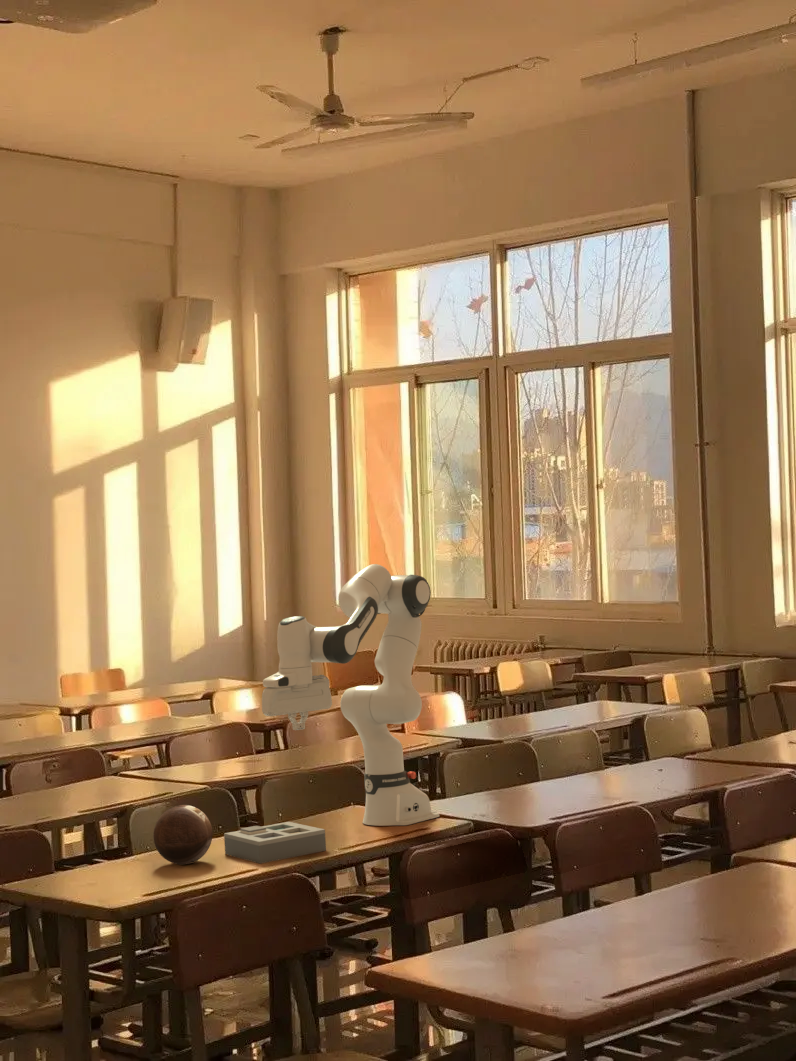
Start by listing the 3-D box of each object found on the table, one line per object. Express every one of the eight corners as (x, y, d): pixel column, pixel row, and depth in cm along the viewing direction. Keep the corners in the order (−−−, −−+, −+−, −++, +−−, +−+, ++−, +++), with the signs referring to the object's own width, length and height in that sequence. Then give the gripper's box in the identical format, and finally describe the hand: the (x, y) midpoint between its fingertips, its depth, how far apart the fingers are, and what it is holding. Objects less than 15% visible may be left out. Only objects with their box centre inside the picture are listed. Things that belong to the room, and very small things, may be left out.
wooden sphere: (210, 868, 377) (206, 808, 378) (150, 871, 377) (147, 812, 378) (217, 856, 392) (213, 798, 393) (159, 859, 392) (156, 802, 393)
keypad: (289, 841, 406) (288, 821, 406) (326, 850, 391) (324, 829, 391) (225, 854, 394) (224, 833, 394) (260, 863, 380) (258, 841, 380)
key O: (257, 836, 397) (256, 825, 397) (266, 839, 393) (266, 827, 393) (240, 840, 394) (240, 828, 394) (250, 842, 390) (249, 830, 390)
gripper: (322, 673, 409) (325, 724, 408) (257, 681, 397) (260, 733, 396) (334, 674, 403) (337, 725, 403) (269, 681, 391) (272, 734, 391)
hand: (298, 729), depth 400 cm, fingers closed
